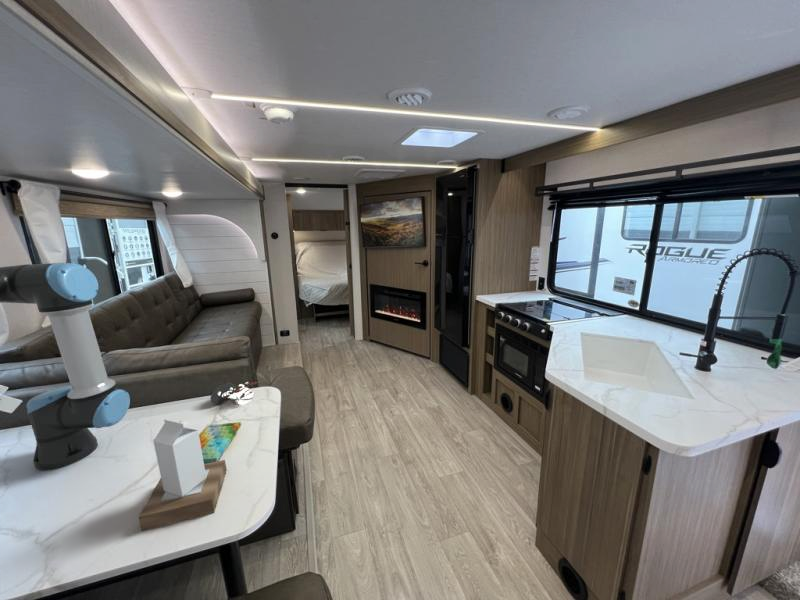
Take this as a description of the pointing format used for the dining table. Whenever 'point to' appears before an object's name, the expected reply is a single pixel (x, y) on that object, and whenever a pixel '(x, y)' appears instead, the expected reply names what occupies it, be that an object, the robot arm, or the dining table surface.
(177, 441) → the milk carton
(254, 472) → the dining table surface
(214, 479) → the walnut riser
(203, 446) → the puzzle game
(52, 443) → the robot arm
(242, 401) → the figurine
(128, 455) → the dining table surface
